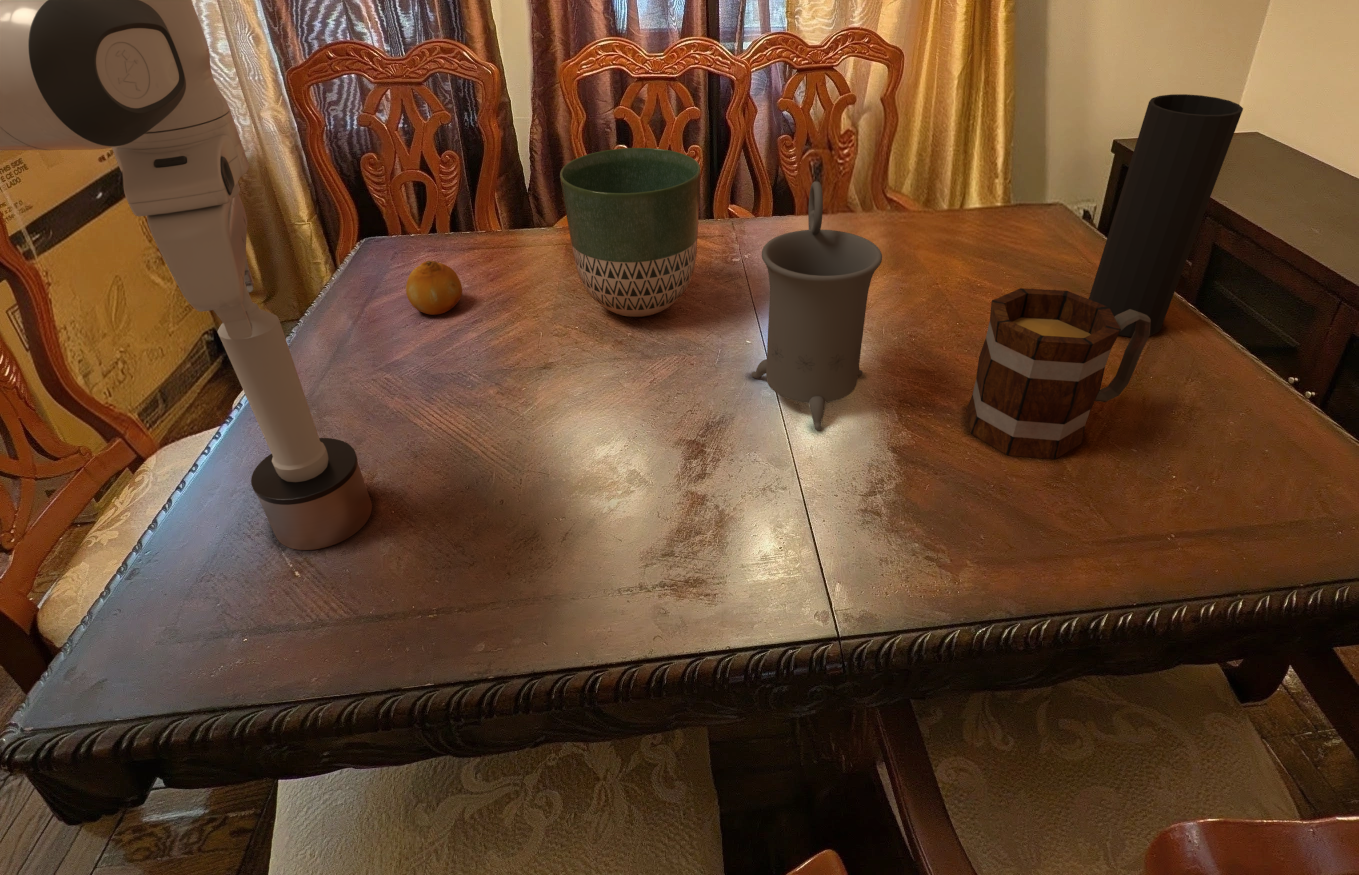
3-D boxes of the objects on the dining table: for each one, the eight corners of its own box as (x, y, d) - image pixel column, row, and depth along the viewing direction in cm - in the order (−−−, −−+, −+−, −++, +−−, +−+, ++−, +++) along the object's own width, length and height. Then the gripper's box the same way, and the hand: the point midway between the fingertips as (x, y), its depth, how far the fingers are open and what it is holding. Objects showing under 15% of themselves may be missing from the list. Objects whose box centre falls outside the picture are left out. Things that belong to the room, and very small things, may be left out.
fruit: (452, 310, 120) (446, 256, 119) (400, 315, 120) (393, 261, 119) (470, 313, 128) (465, 263, 127) (421, 318, 128) (415, 267, 128)
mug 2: (879, 431, 97) (909, 233, 82) (756, 432, 97) (764, 235, 82) (854, 351, 112) (876, 172, 97) (748, 353, 112) (754, 174, 97)
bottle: (320, 483, 80) (230, 247, 65) (268, 484, 80) (167, 249, 65) (337, 451, 84) (256, 223, 69) (288, 453, 84) (197, 225, 70)
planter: (721, 323, 119) (722, 180, 107) (596, 349, 114) (581, 202, 101) (674, 271, 134) (670, 140, 121) (561, 293, 129) (545, 158, 116)
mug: (1000, 468, 90) (1032, 353, 81) (944, 403, 101) (966, 295, 92) (1154, 442, 93) (1201, 329, 84) (1084, 382, 104) (1119, 275, 95)
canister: (308, 565, 81) (286, 513, 77) (254, 525, 86) (231, 474, 82) (392, 510, 87) (376, 459, 83) (337, 475, 92) (320, 426, 88)
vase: (1097, 337, 113) (1168, 116, 95) (1074, 304, 121) (1136, 94, 103) (1173, 338, 112) (1259, 115, 94) (1145, 304, 120) (1220, 93, 103)
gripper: (152, 127, 70) (211, 273, 79) (120, 202, 55) (197, 373, 63) (230, 118, 72) (280, 261, 80) (220, 188, 57) (283, 356, 65)
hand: (243, 311), depth 72 cm, fingers open, 8 cm apart
